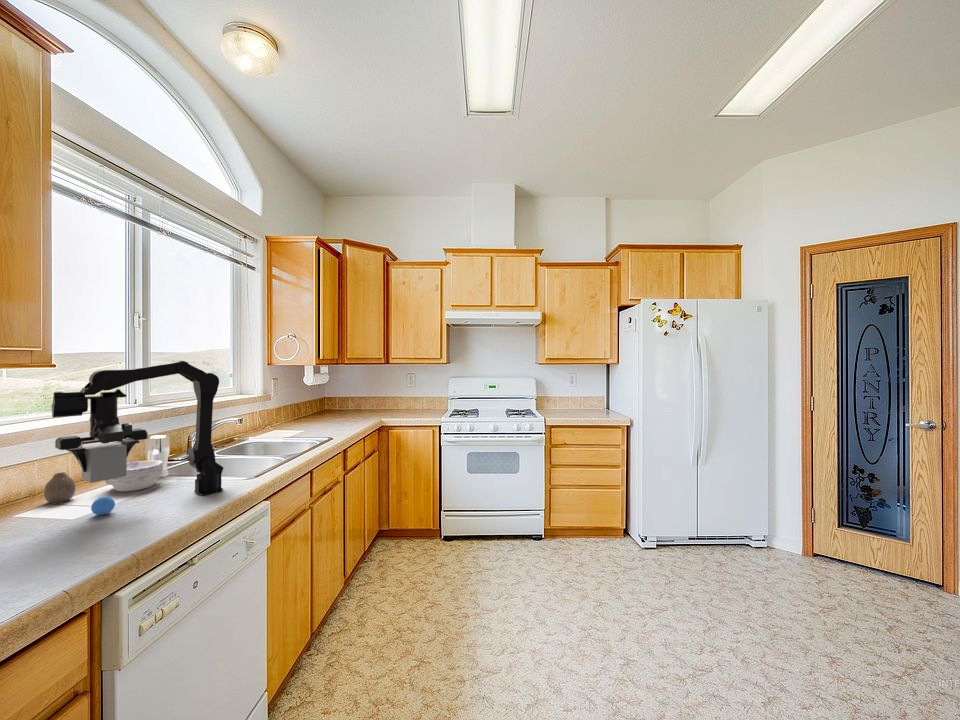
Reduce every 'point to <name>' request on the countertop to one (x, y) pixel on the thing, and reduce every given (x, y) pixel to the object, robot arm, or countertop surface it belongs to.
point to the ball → (103, 505)
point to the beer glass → (159, 450)
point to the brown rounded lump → (59, 488)
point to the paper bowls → (138, 476)
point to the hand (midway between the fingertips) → (103, 468)
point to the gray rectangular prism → (105, 462)
